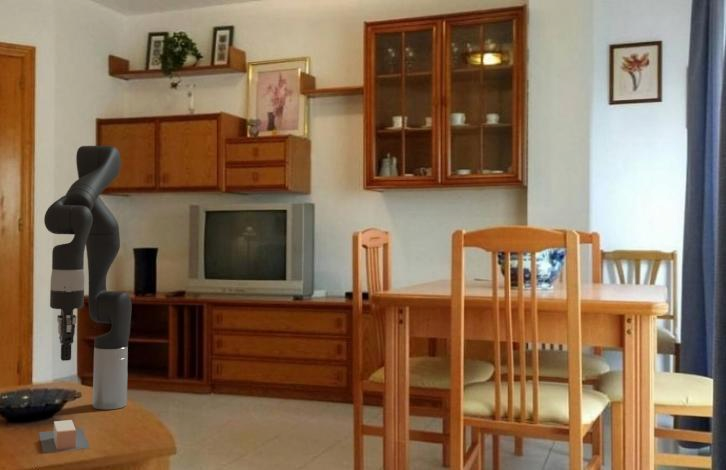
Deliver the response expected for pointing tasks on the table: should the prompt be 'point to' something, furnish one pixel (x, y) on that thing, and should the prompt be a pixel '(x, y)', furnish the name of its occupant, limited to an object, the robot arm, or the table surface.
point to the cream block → (64, 434)
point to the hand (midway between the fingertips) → (65, 359)
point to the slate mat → (50, 447)
